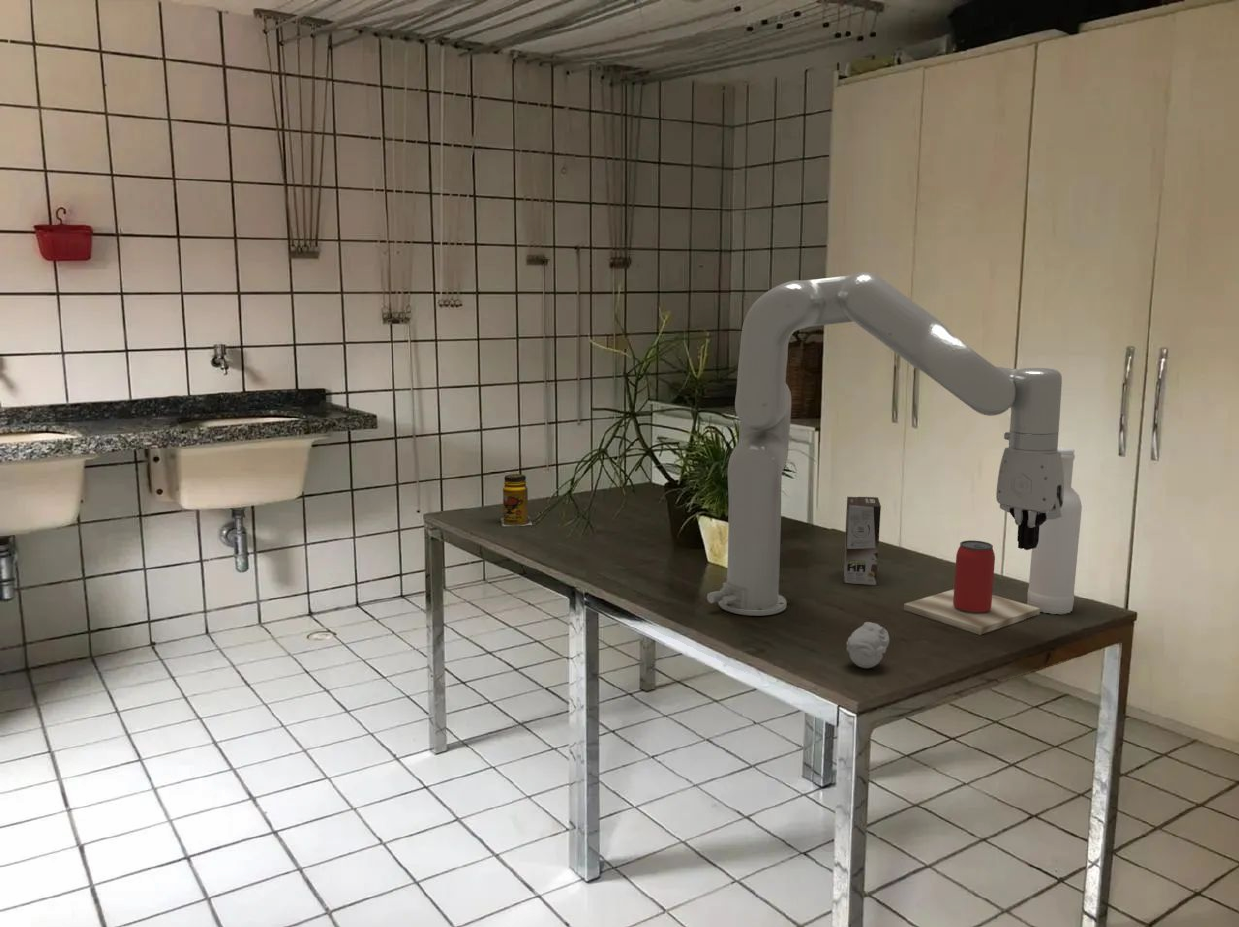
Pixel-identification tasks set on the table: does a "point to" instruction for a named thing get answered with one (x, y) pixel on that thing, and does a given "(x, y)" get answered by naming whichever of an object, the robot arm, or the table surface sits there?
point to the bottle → (1057, 551)
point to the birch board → (978, 623)
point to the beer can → (974, 576)
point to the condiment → (515, 501)
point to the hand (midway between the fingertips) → (1027, 547)
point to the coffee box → (862, 540)
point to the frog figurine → (867, 645)
